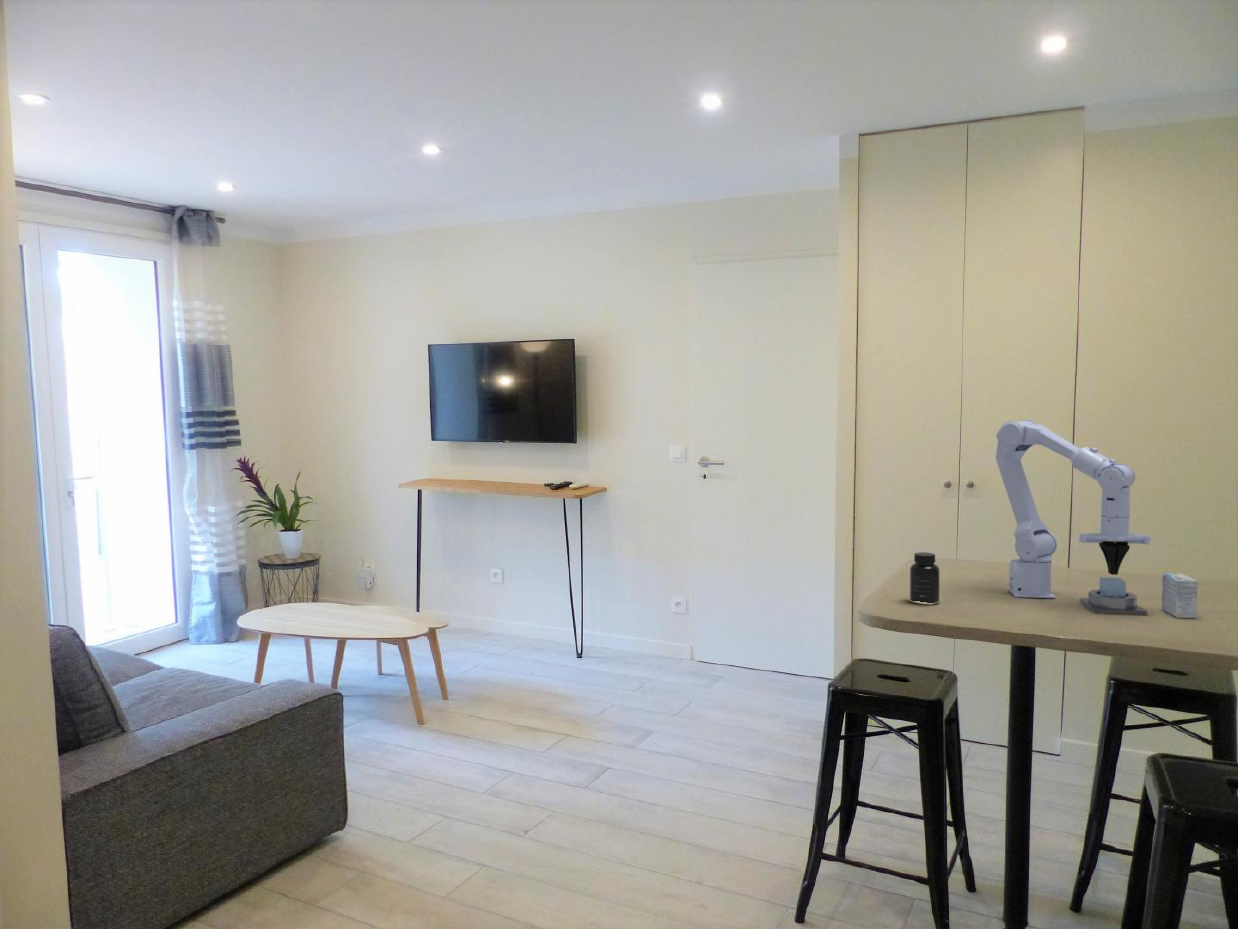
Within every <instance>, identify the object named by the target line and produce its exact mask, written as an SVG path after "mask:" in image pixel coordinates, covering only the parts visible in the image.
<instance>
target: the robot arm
mask: <svg viewBox="0 0 1238 929" xmlns="http://www.w3.org/2000/svg"><path fill="white" fill-rule="evenodd" d="M995 437H996V440H997V445H996V446H997V447H996V452H995V461H996V465H997V467H998V470H999V473H1000V476H1001V479H1002V482H1003V486H1004V488H1005V491H1006V493H1007V497H1008V501H1009V504H1010V506H1011V509H1012V512H1013V515H1014V519H1015V522H1016V524H1017V525H1016V527H1015V530H1014V533H1013V535H1014V539H1015V542H1014V550H1015V552H1016V555H1017V556H1018V557H1019V559H1011V560H1010V561H1009V564H1008V565H1009V567H1008V569H1009V570H1008V588H1007V590H1008V591H1009V593H1011V595H1013V596H1014V597H1016V598H1033V599H1035V598H1036V599H1037V598H1039V599H1057V596H1056V595H1055V594H1053V593H1052V590H1051V589H1052V565H1053V564H1052V562H1053V561H1052V560H1053V558H1052V555H1053V554H1055V552H1056V551H1057V547H1058V542H1057V540H1056V537H1055V536H1054V535H1053V534H1052V533H1051V531H1050V530H1049V527H1048V524H1046V523H1045V522H1044V521H1043V520H1041V518H1040V515H1039V512H1038V509H1037V505H1036V503H1035V500H1034V497H1033V493H1032V491H1031V488H1030V485H1029V482H1028V479H1027V475H1026V473H1025V470H1024V468H1023V464H1022V458H1023V456H1024V455H1025V454H1026V452H1027V451H1028V450H1029V449H1031V447H1033V446H1034V445H1035V446H1036V445H1039V446H1043V447H1045V448H1047V449H1049V450H1051V451H1052V452H1055V453H1056V454H1059V455H1060V456H1063V457H1065V458H1067V459H1068V460H1070V463H1071V466H1072V467H1073V468H1074V469H1076V470H1078V471H1079V472H1081V473H1083V474H1085V475H1086V476H1088V477H1089V478H1091V479H1092V480H1094V481H1096V482H1098V485H1099V486H1100V488H1101V505H1100V506H1101V509H1100V510H1101V512H1100V513H1101V514H1100V532H1094V533H1093V532H1091V533H1079V539H1078V541H1079V543H1081V544H1087V543H1088V544H1091V543H1092V544H1095V543H1096V544H1098V545H1099V548H1100V550H1101V552H1102V554H1103V556H1104V560H1105V561H1106V567H1107V572H1108V573H1109V575H1112V576H1113V575H1119V571H1120V568H1121V565H1122V562H1123V560H1124V558H1125V556H1126V554H1127V553H1128V552H1129V550H1130V548H1131V547H1130V544H1131V545H1133V544H1135V545H1137V544H1138V545H1142V544H1143V545H1151V536H1150V535H1148V534H1136V533H1135V534H1133V533H1129V529H1130V506H1131V486H1132V485H1133V484H1134V482H1135V480H1136V476H1135V472H1134V470H1133V469H1132V467H1130V466H1129V465H1128V464H1126V463H1117V460H1116V459H1114V458H1109V457H1106V456H1105V455H1103V454H1101V453H1100V452H1099V451H1098V448H1095V447H1094V446H1093V447H1088V446H1085V447H1081V448H1079V447H1078V446H1076V445H1074V444H1073V443H1071V442H1070V441H1068V440H1066V439H1065V438H1063V437H1062V436H1060V435H1058V434H1056V433H1055V432H1054V431H1051V430H1050V429H1049V428H1047V427H1046V426H1044V425H1043V424H1040V423H1037V422H1036V421H1034V420H1030V419H1029V420H1021V421H1014V420H1013V421H1007V422H1004V423H1003V424H1002V425H1001V427H1000V428H999V429H998V431H997V433H996V435H995Z"/></svg>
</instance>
